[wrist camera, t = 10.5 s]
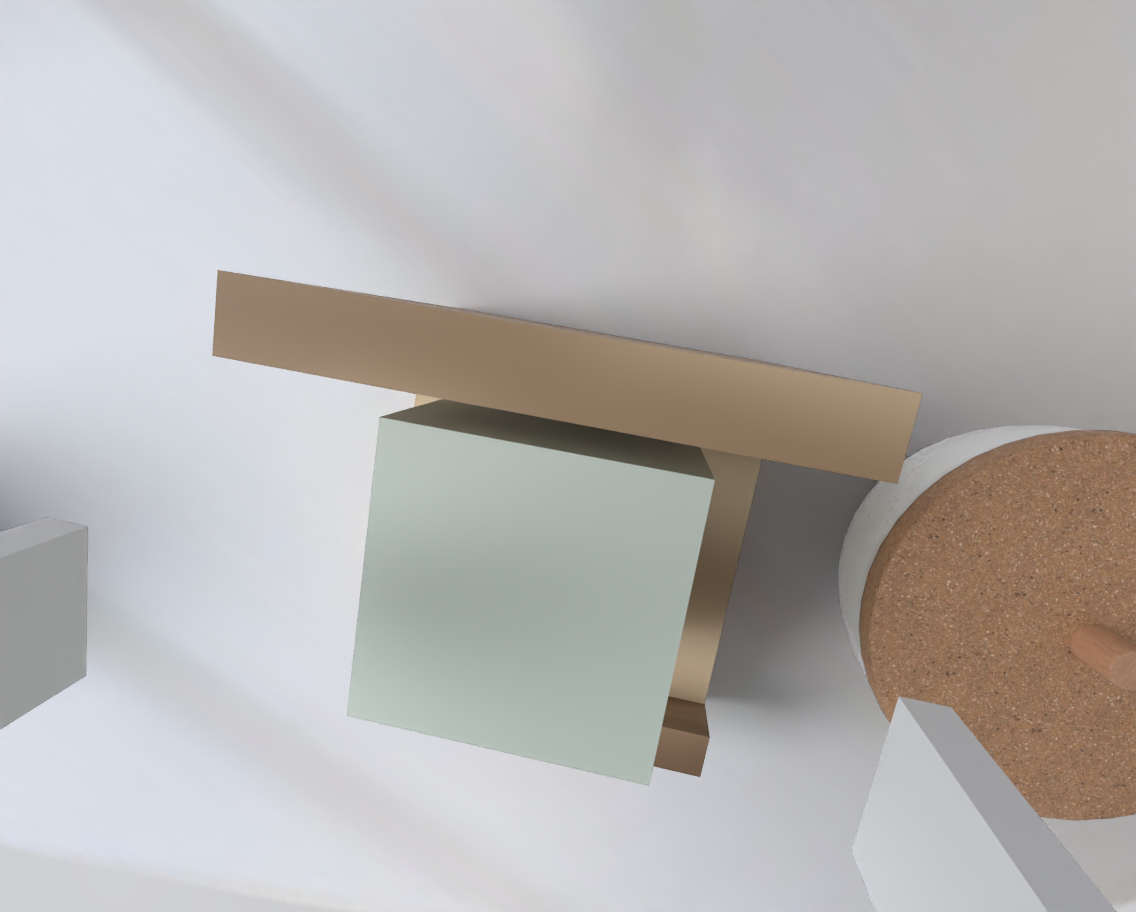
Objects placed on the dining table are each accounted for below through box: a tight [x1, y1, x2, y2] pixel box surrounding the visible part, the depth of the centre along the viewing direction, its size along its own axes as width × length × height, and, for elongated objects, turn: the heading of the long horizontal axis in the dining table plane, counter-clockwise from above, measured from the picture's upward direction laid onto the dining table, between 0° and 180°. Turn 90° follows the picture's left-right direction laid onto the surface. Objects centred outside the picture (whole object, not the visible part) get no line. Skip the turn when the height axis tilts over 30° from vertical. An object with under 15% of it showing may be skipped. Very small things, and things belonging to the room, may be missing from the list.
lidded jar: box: [838, 425, 1136, 820], centre depth 20 cm, size 11×11×9 cm
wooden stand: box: [212, 270, 923, 777], centre depth 19 cm, size 14×12×14 cm
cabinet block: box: [347, 399, 715, 786], centre depth 18 cm, size 8×7×9 cm
